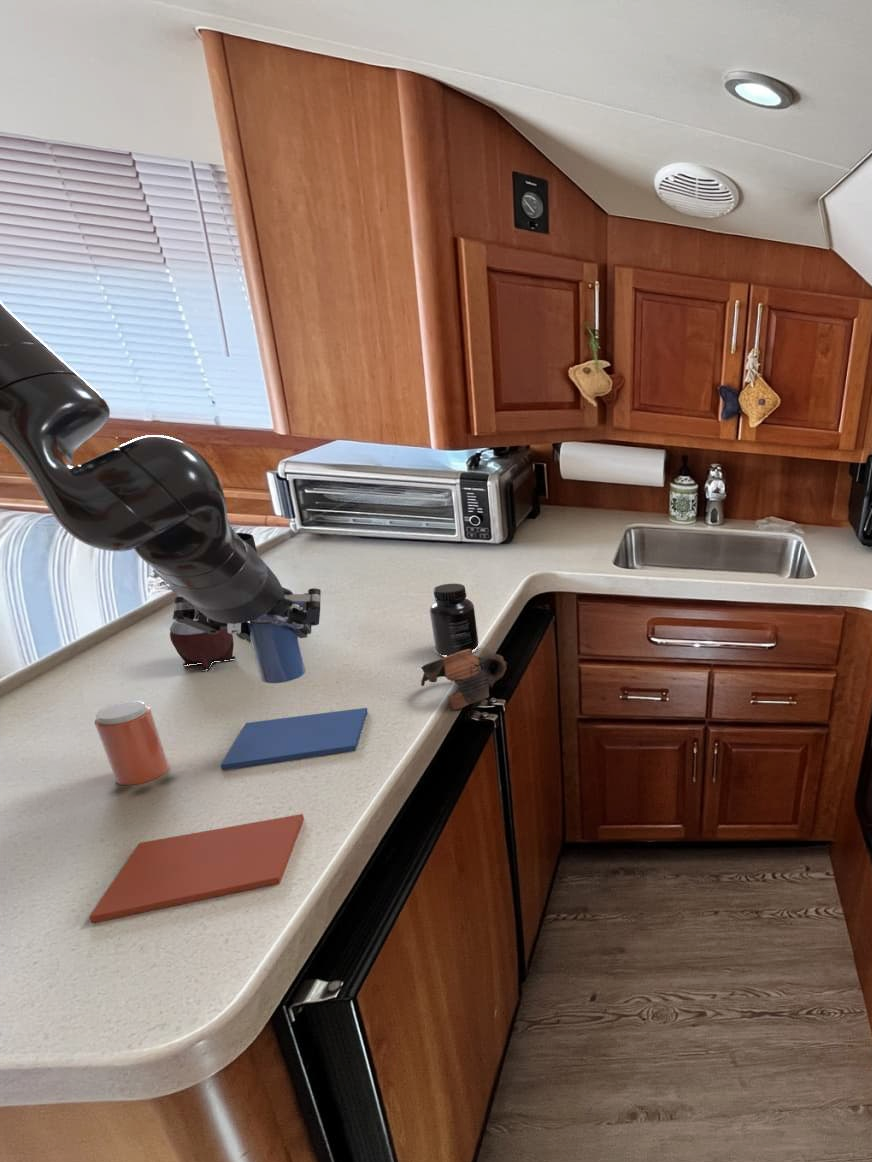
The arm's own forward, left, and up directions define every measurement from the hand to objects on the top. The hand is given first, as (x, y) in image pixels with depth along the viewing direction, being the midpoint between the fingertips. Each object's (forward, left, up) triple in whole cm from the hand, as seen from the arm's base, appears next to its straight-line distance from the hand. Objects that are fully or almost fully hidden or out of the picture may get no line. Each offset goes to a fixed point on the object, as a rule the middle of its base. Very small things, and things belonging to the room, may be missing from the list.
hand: (279, 633), depth 82 cm
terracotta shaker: (-15, -5, -15) cm, 22 cm away
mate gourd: (-18, +26, -15) cm, 35 cm away
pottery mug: (+20, +5, -15) cm, 26 cm away
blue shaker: (0, -2, -5) cm, 5 cm away
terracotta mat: (-3, -25, -15) cm, 29 cm away
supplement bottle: (+18, +21, -15) cm, 32 cm away
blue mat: (0, -2, -15) cm, 15 cm away
